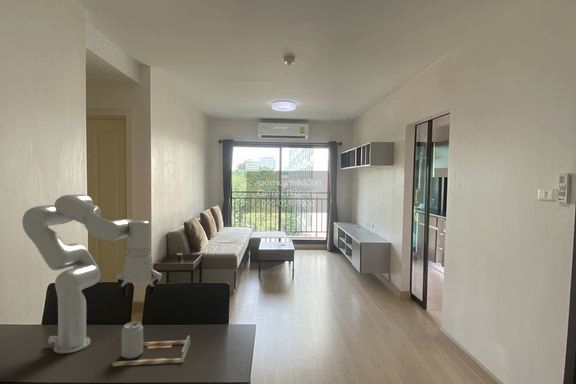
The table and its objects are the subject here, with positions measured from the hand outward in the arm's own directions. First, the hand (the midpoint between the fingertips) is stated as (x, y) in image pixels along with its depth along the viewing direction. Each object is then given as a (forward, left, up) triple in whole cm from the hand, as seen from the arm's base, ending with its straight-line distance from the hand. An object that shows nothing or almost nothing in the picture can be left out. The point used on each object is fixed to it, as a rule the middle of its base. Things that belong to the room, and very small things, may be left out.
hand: (138, 295), depth 127 cm
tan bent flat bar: (+6, -1, -23) cm, 24 cm away
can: (-2, -1, -23) cm, 23 cm away
